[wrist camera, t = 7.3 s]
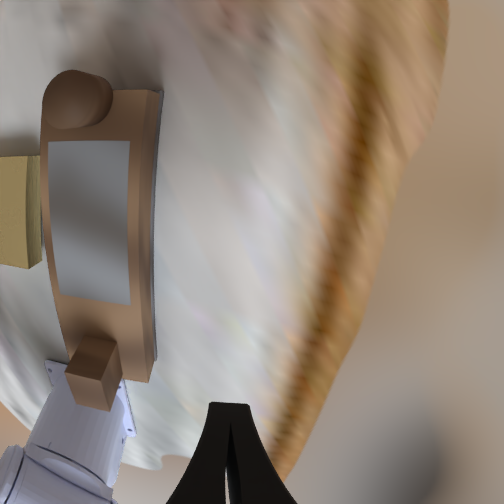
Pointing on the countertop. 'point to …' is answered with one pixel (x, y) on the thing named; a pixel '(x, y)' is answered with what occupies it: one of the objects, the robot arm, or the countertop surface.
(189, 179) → the countertop surface
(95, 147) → the body
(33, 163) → the lever cap
